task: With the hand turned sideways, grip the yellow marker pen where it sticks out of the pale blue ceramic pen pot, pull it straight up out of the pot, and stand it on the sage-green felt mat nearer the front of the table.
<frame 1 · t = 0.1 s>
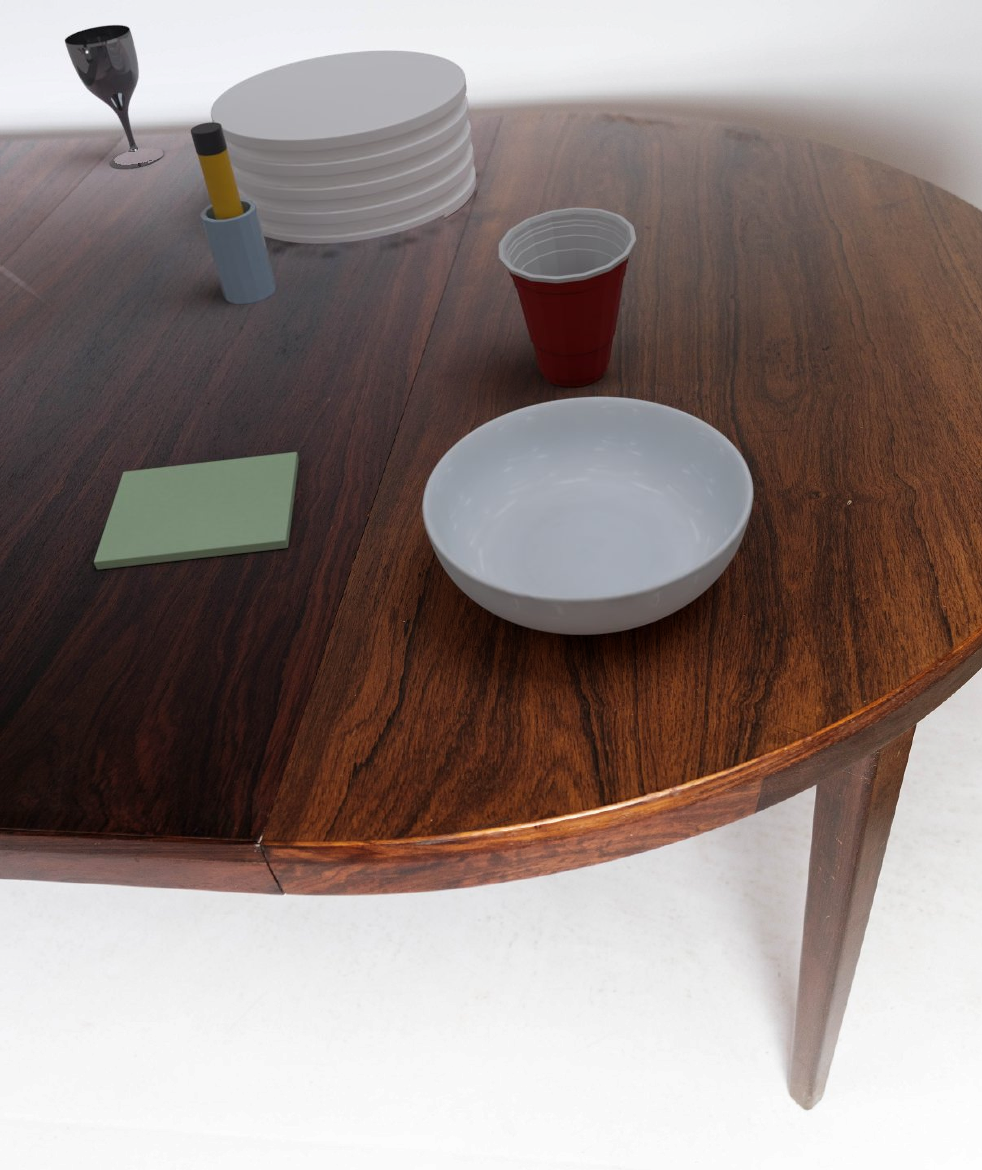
felt mat: (203, 512, 80), on the table
wine glass: (137, 159, 139), on the table
marker: (250, 291, 106), point 1 cm above the table, touching pen pot
serving bowl: (587, 567, 72), on the table
pen pot: (251, 296, 106), on the table
plastic cup: (572, 372, 90), on the table
plate stack: (357, 196, 123), on the table
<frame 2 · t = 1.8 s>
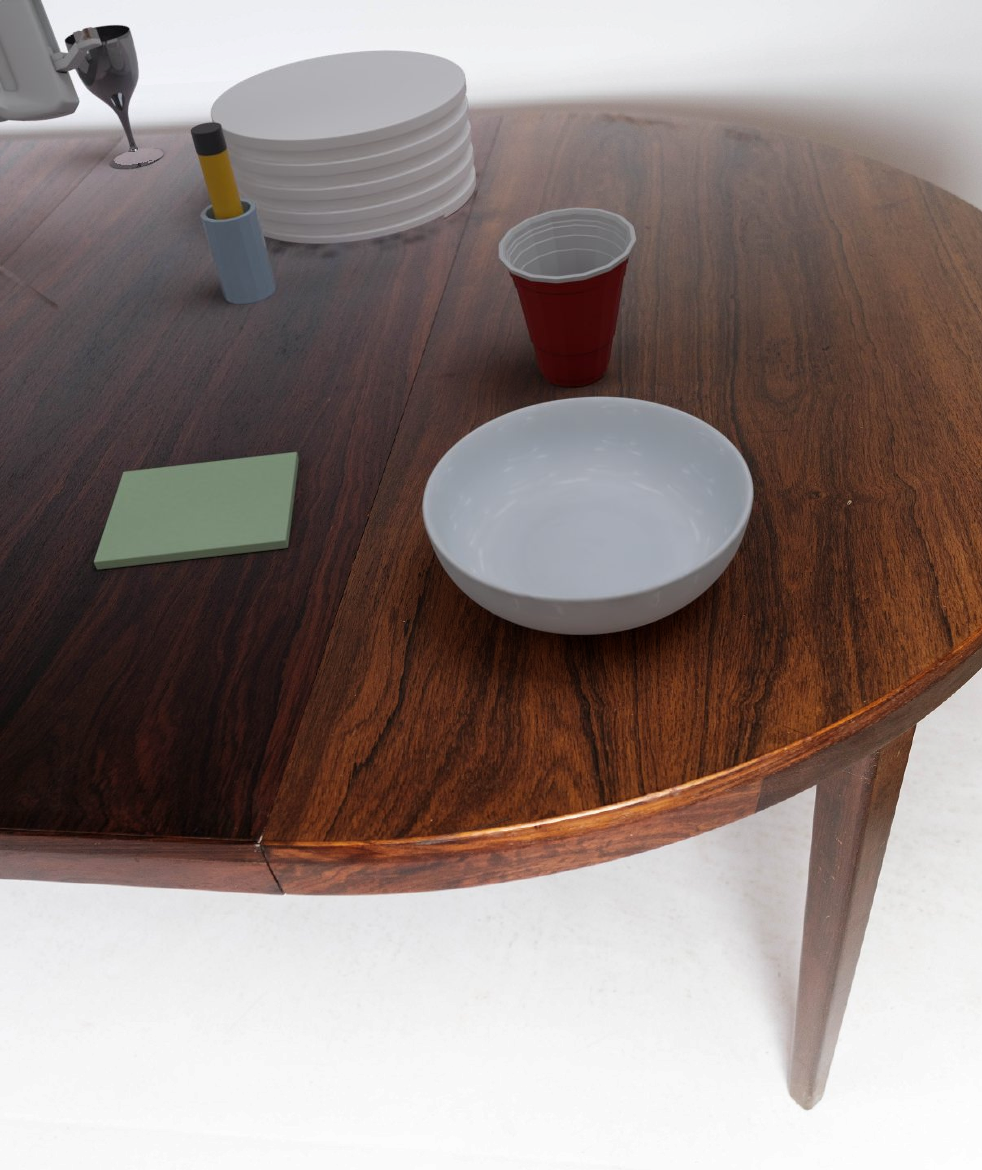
nothing on the table moved.
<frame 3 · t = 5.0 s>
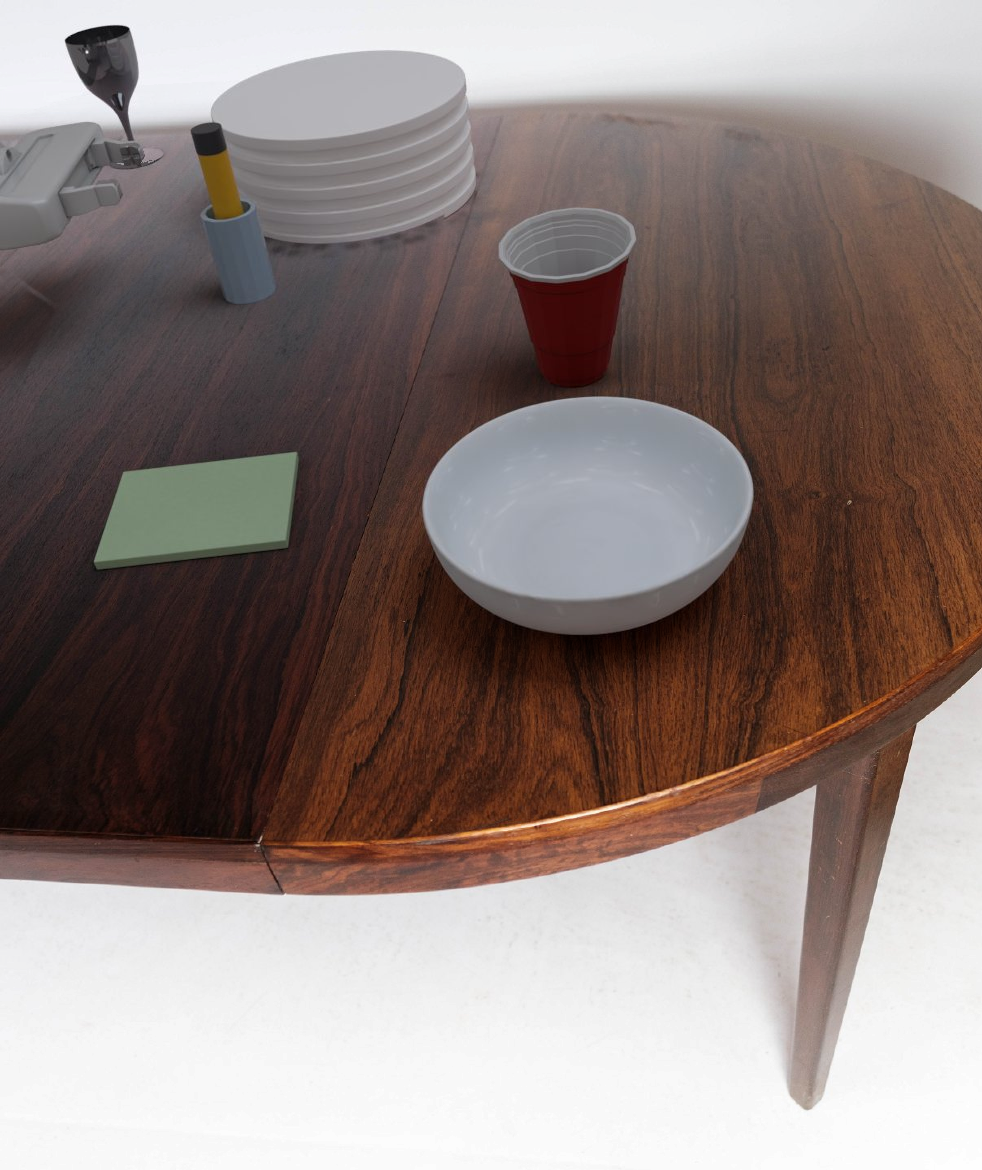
hand: (130, 171, 97), 13 cm above the table, tool horizontal, fingers open, 8 cm apart
nothing on the table moved.
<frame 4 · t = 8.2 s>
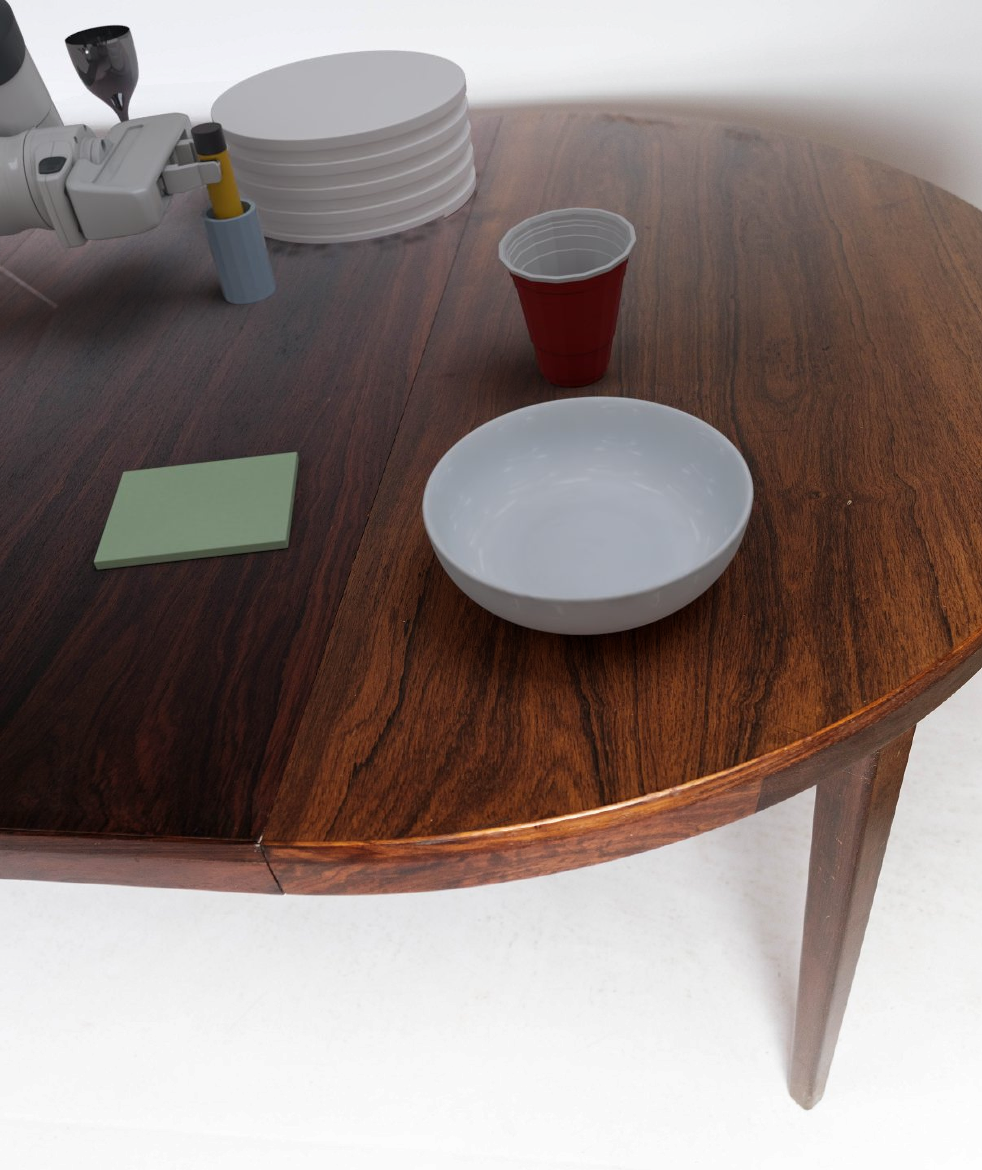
hand: (224, 161, 97), 13 cm above the table, tool horizontal, fingers closed on marker, 3 cm apart
marker: (250, 291, 106), point 1 cm above the table, touching gripper, pen pot
everything else where it was.
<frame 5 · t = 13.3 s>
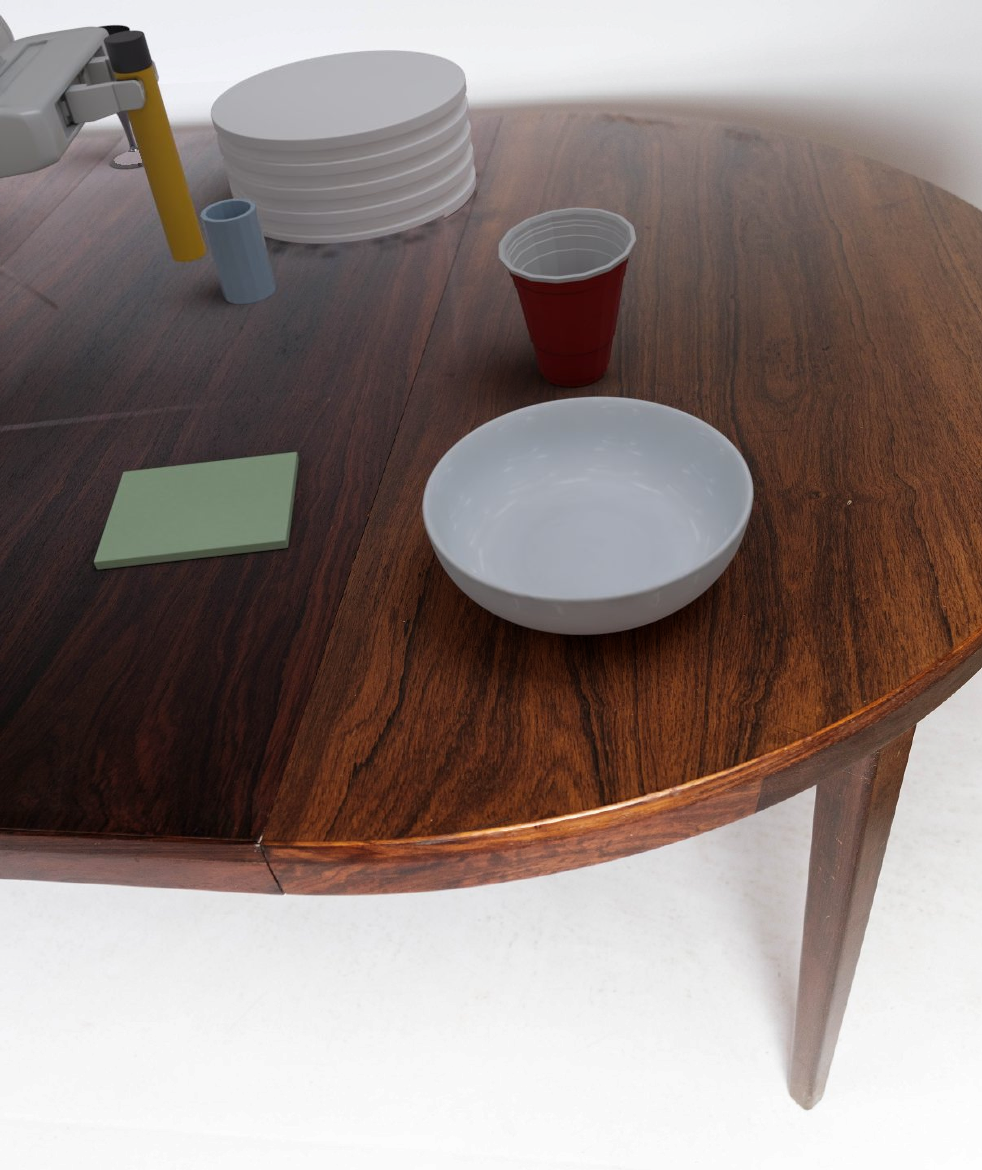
hand: (149, 82, 75), 26 cm above the table, tool horizontal, fingers closed on marker, 3 cm apart
marker: (189, 254, 84), point 13 cm above the table, touching gripper
everything else where it was.
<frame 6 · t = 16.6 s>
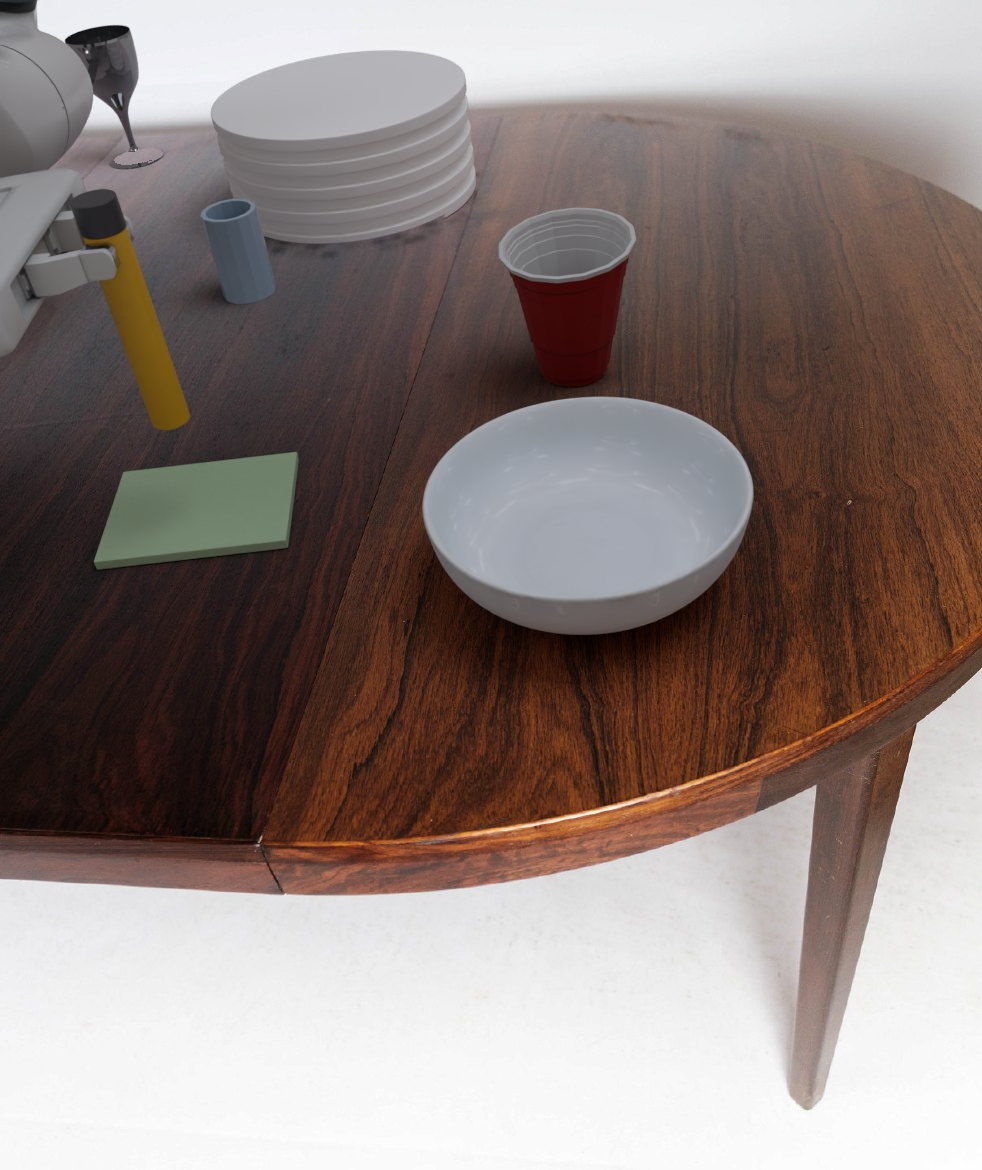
hand: (122, 245, 66), 21 cm above the table, tool horizontal, fingers closed on marker, 3 cm apart
marker: (171, 419, 75), point 8 cm above the table, touching gripper
everything else where it was.
when the fingers open (14 cm above the table, at t = 18.9 s): marker stays where it is, resting on felt mat.
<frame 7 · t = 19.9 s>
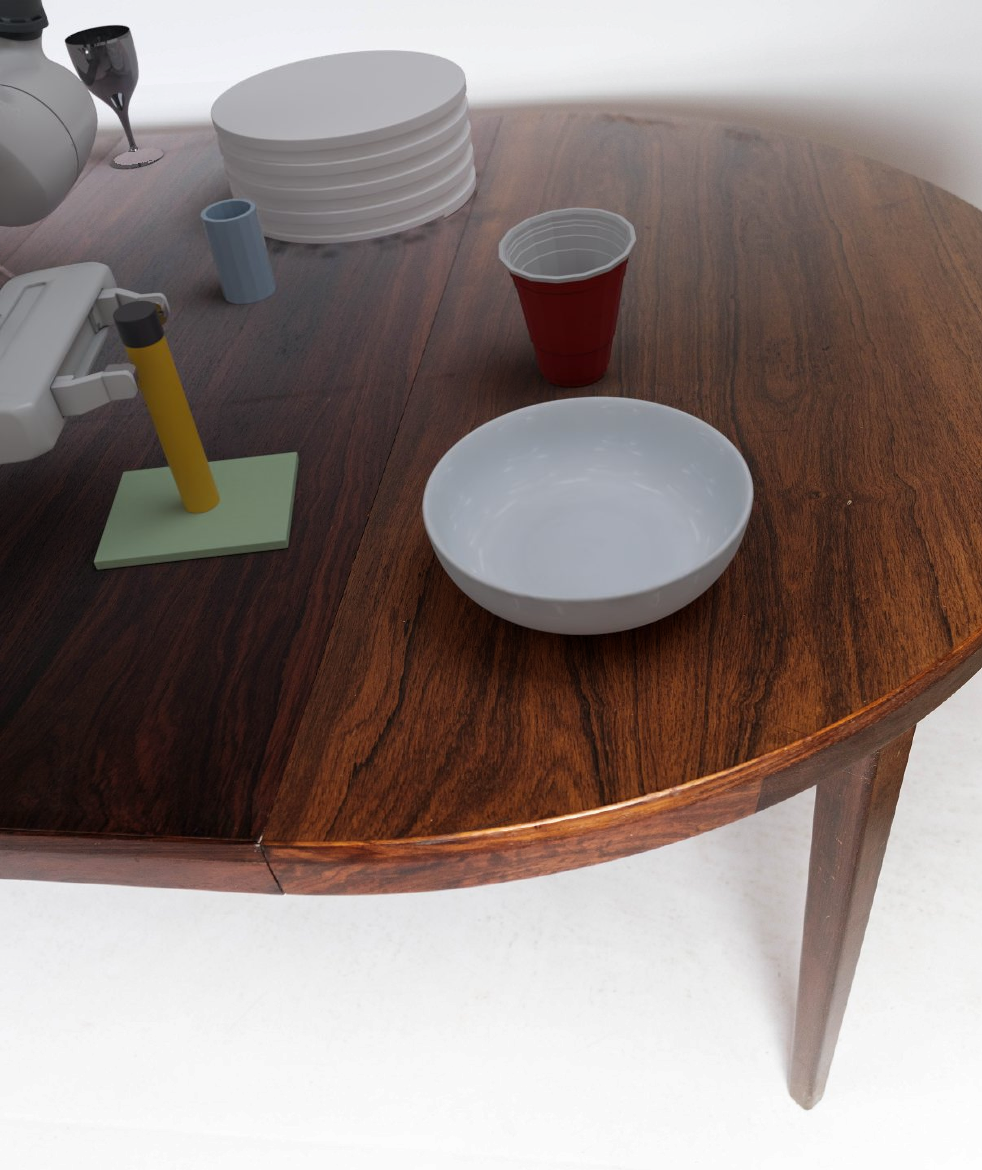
hand: (152, 342, 70), 15 cm above the table, tool horizontal, fingers open, 8 cm apart
marker: (202, 502, 80), point 1 cm above the table, touching felt mat
everything else where it was.
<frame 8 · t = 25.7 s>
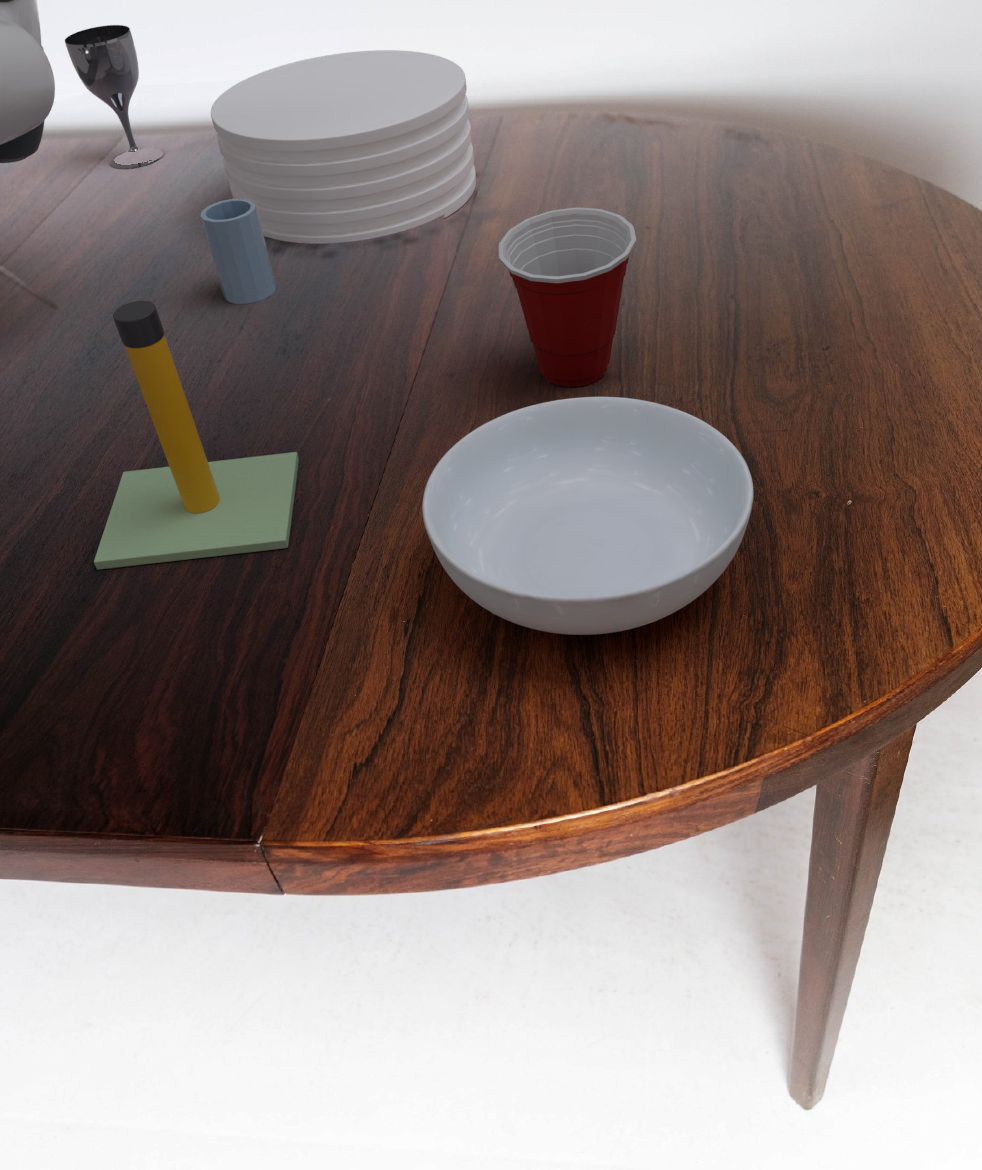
nothing on the table moved.
at the end: marker inside the target area on the felt mat (0.2 cm from its centre), point 0.8 cm above the felt mat's base; marker touching felt mat; the gripper is holding nothing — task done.
